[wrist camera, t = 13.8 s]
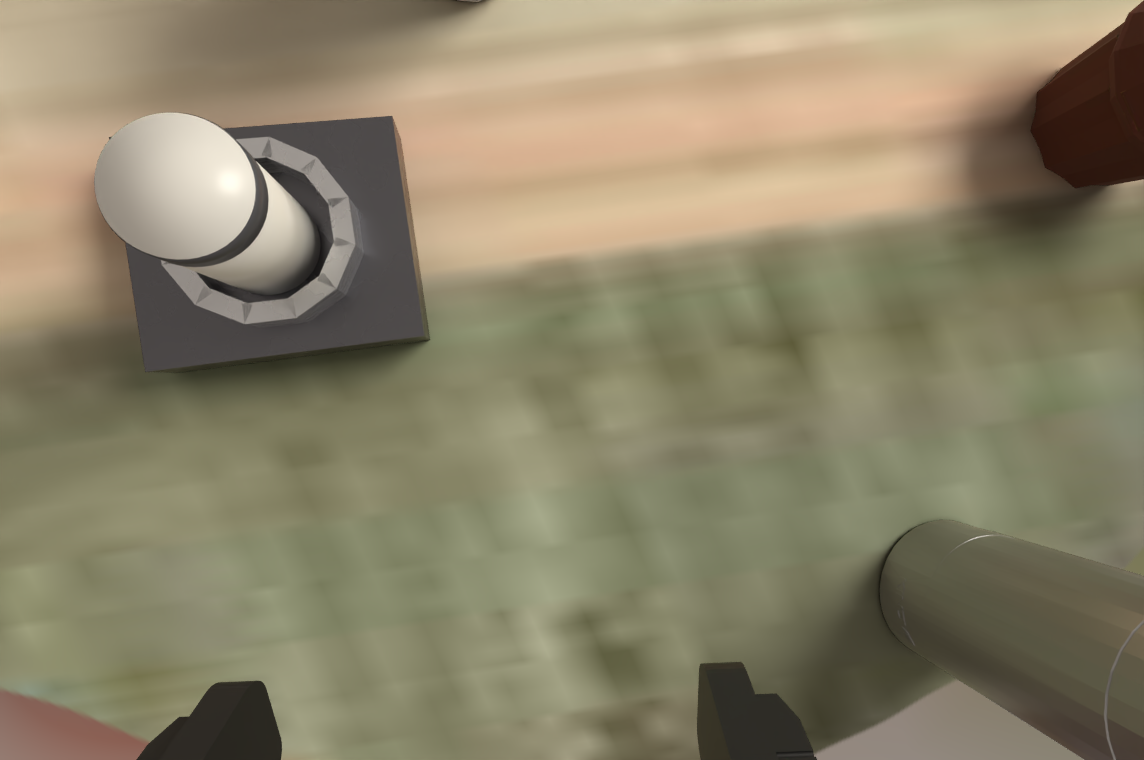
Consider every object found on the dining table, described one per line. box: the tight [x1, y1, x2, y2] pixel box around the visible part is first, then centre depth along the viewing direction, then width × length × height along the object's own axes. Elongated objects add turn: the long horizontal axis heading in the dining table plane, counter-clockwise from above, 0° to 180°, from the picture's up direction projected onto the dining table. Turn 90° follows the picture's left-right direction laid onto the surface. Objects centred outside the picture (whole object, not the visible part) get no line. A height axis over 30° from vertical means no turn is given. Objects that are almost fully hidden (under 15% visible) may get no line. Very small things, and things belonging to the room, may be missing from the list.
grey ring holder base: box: [109, 116, 430, 373], centre depth 31 cm, size 14×12×5 cm
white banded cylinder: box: [94, 113, 320, 295], centre depth 26 cm, size 6×6×9 cm
